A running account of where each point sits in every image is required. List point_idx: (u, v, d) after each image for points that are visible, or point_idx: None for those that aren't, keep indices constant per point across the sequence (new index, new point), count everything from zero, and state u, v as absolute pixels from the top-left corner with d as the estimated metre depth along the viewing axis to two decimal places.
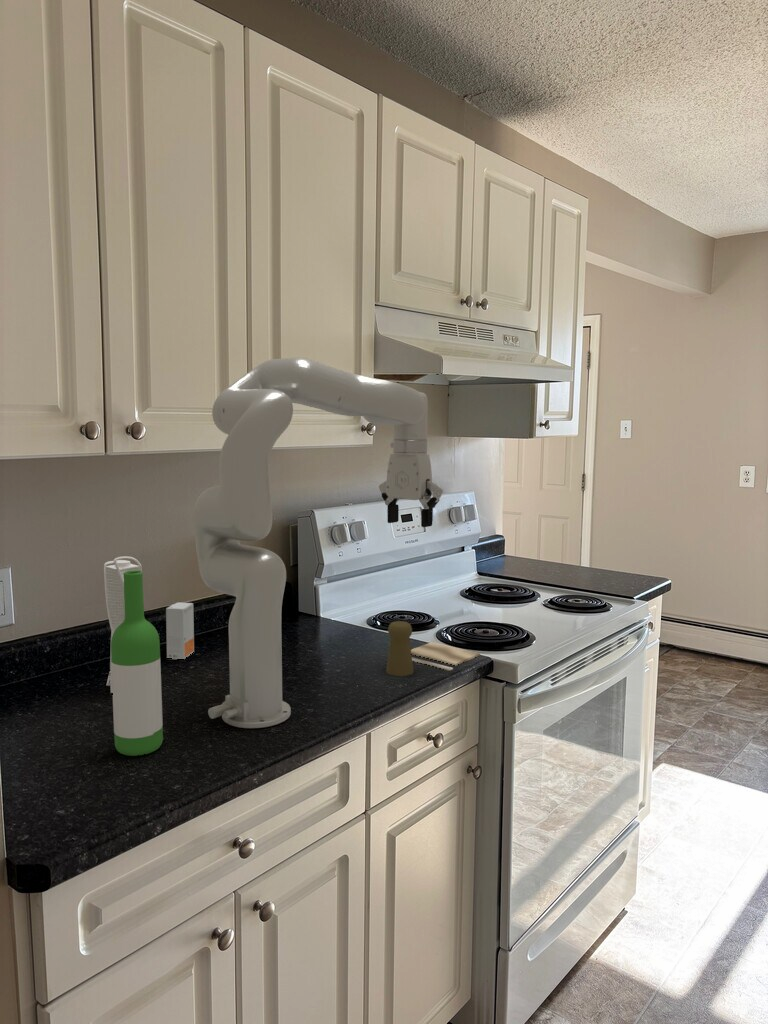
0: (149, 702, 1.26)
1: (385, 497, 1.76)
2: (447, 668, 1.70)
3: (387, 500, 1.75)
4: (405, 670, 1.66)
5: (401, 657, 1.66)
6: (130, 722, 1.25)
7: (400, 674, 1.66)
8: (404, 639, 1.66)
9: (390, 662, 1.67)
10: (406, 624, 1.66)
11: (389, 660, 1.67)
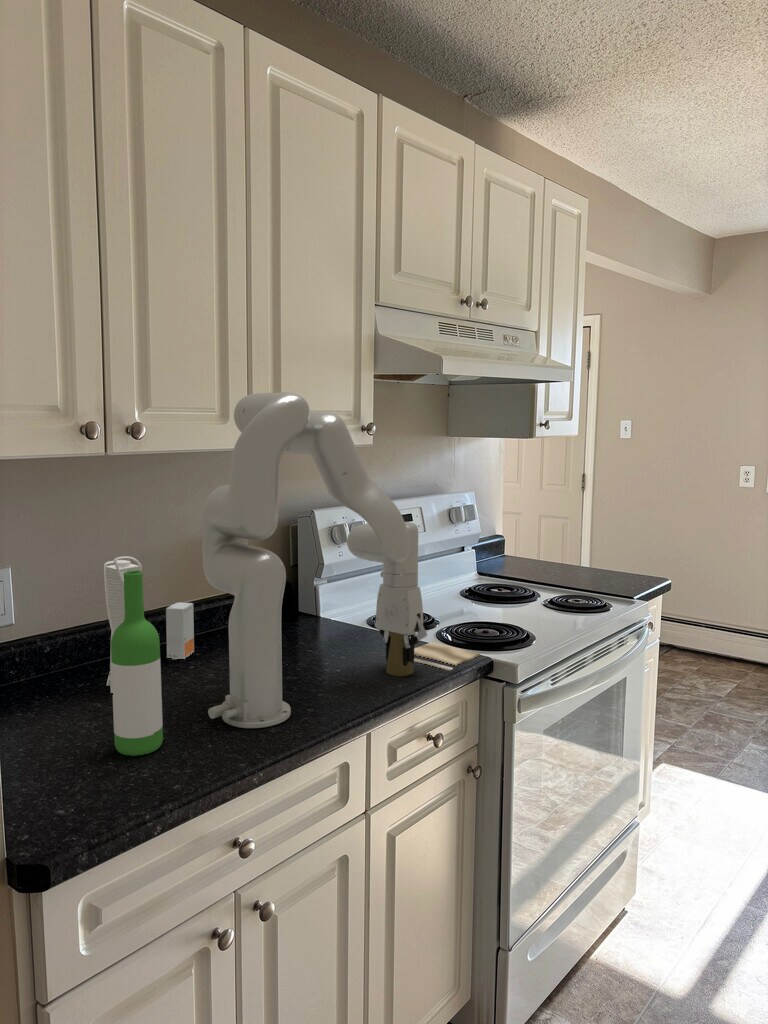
0: (149, 702, 1.26)
1: (383, 634, 1.70)
2: (447, 668, 1.70)
3: (384, 637, 1.69)
4: (405, 669, 1.66)
5: (401, 657, 1.66)
6: (130, 722, 1.25)
7: (400, 674, 1.66)
8: None
9: (390, 661, 1.67)
10: None
11: (389, 660, 1.67)
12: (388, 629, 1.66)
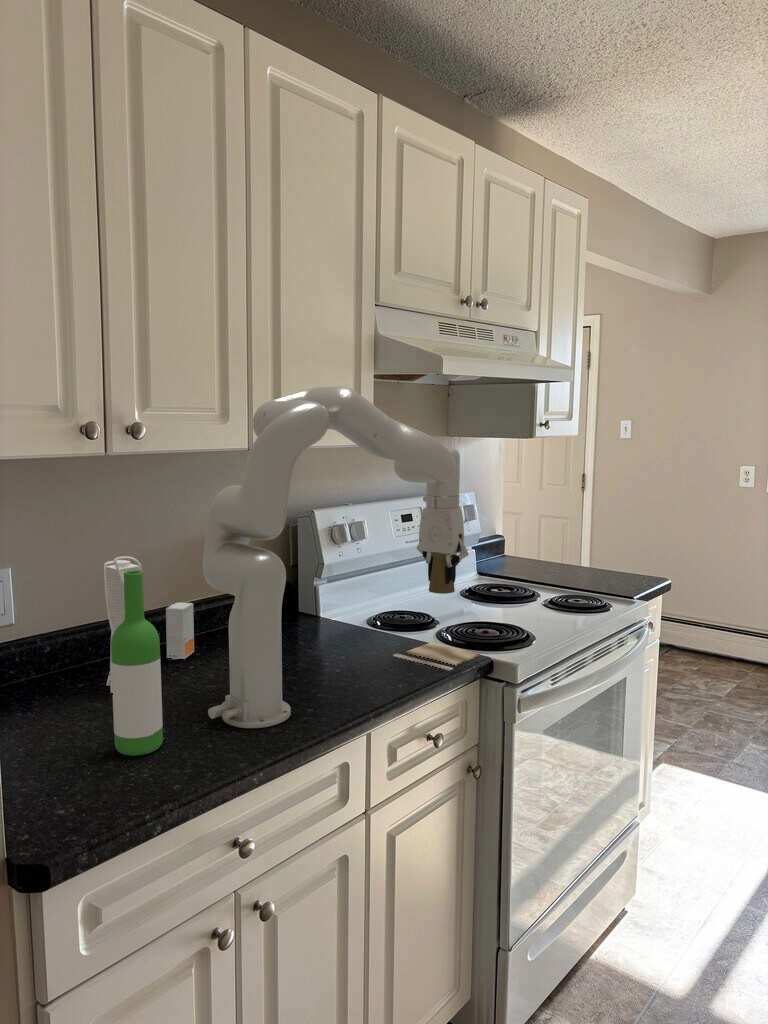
0: (149, 702, 1.26)
1: (426, 555, 1.79)
2: (447, 668, 1.70)
3: (427, 559, 1.78)
4: (448, 588, 1.75)
5: (443, 576, 1.75)
6: (130, 722, 1.25)
7: (442, 592, 1.75)
8: None
9: (433, 580, 1.76)
10: None
11: (432, 579, 1.76)
12: (431, 550, 1.75)
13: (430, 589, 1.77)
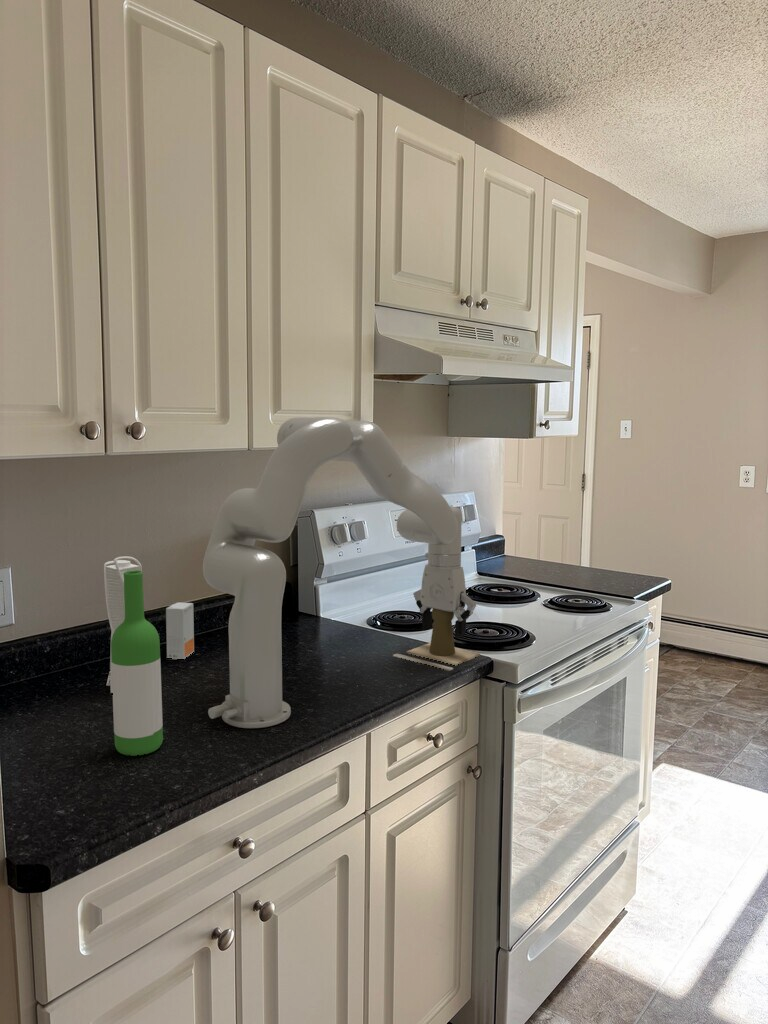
0: (149, 702, 1.26)
1: (420, 605, 1.83)
2: (447, 668, 1.70)
3: (422, 608, 1.82)
4: (448, 650, 1.78)
5: (443, 638, 1.78)
6: (130, 722, 1.25)
7: (443, 654, 1.78)
8: (446, 622, 1.78)
9: (434, 643, 1.79)
10: None
11: (432, 641, 1.79)
12: (433, 606, 1.78)
13: (431, 651, 1.79)
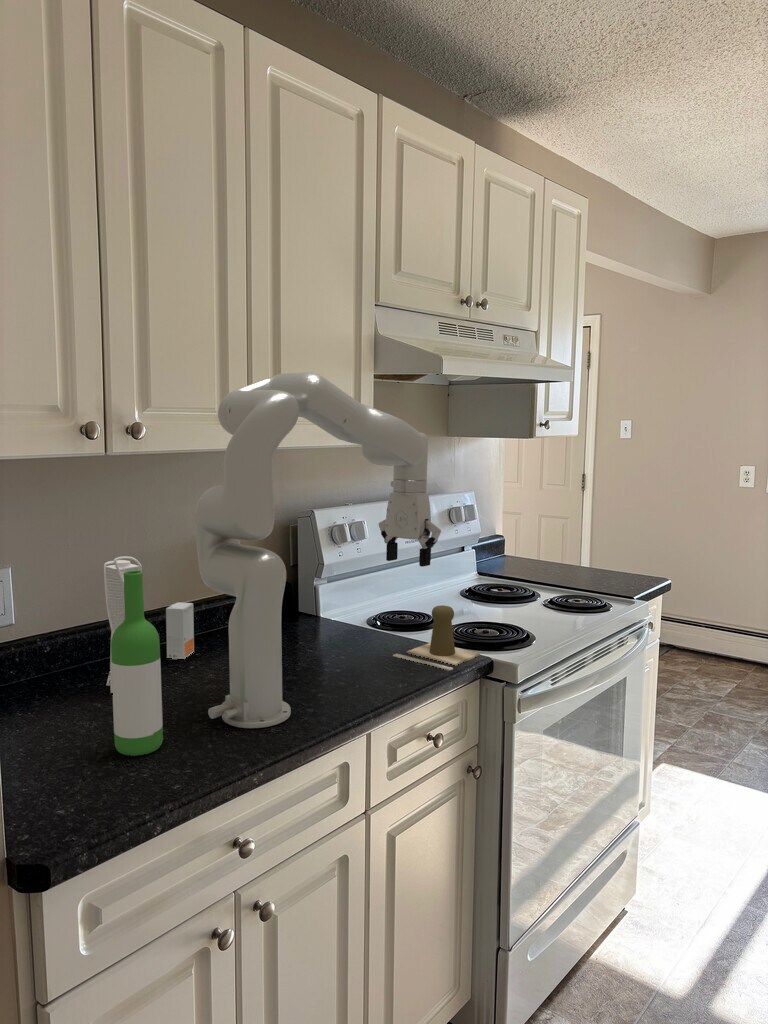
0: (149, 702, 1.26)
1: (384, 535, 1.78)
2: (447, 668, 1.70)
3: (386, 538, 1.77)
4: (448, 650, 1.78)
5: (443, 638, 1.78)
6: (130, 722, 1.25)
7: (443, 654, 1.78)
8: (446, 622, 1.78)
9: (434, 643, 1.79)
10: (449, 608, 1.78)
11: (432, 641, 1.79)
12: (397, 535, 1.73)
13: (431, 651, 1.79)
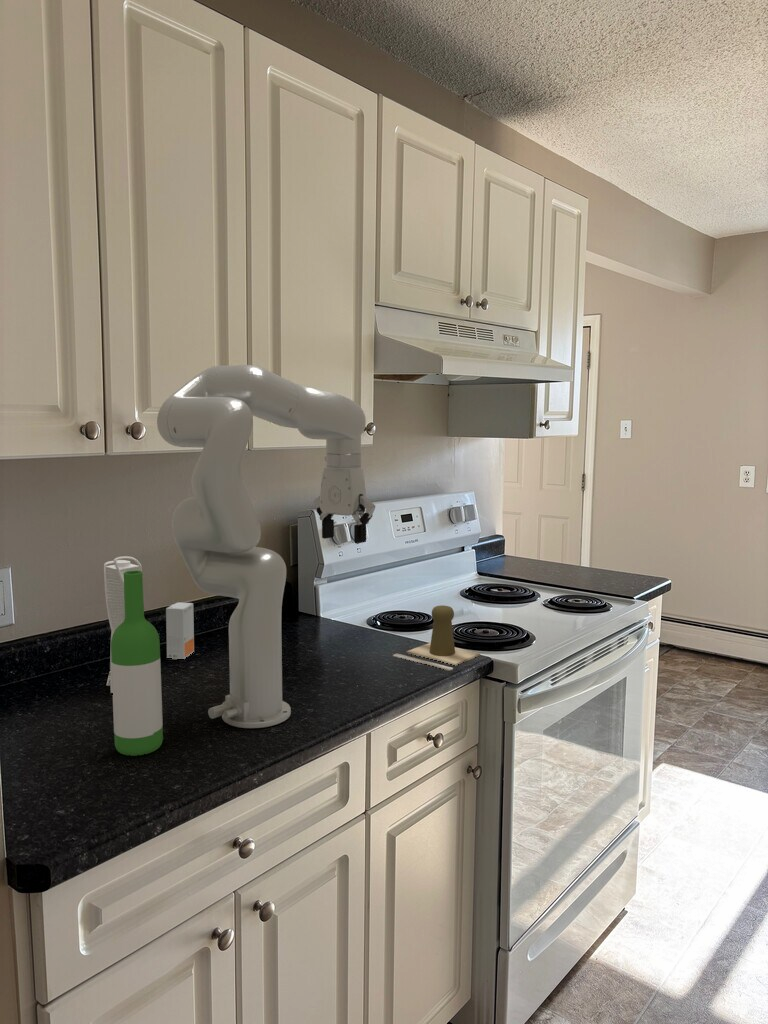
0: (149, 702, 1.26)
1: (320, 512, 1.72)
2: (447, 668, 1.70)
3: (321, 515, 1.71)
4: (448, 650, 1.78)
5: (443, 638, 1.78)
6: (130, 722, 1.25)
7: (443, 654, 1.78)
8: (446, 622, 1.78)
9: (434, 643, 1.79)
10: (449, 608, 1.78)
11: (432, 641, 1.79)
12: (331, 511, 1.67)
13: (431, 651, 1.79)
